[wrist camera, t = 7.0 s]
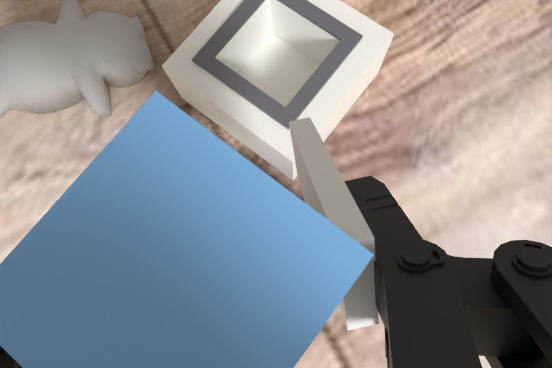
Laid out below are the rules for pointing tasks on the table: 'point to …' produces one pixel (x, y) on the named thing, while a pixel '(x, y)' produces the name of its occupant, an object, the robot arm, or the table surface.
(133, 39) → the bunny figurine
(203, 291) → the plug
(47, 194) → the table surface
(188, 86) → the port block
